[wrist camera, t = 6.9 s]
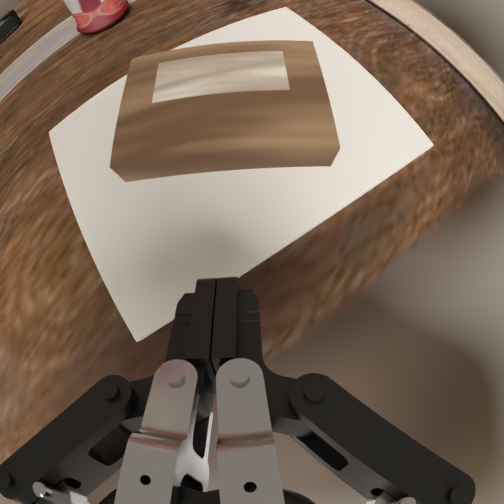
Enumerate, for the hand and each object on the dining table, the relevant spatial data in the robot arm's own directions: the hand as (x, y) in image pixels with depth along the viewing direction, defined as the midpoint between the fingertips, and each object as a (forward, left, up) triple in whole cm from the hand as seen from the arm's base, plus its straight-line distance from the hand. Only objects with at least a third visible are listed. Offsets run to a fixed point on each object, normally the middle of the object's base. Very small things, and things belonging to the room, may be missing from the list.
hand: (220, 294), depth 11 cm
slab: (-7, +4, -5) cm, 9 cm away
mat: (-11, +6, -7) cm, 14 cm away
